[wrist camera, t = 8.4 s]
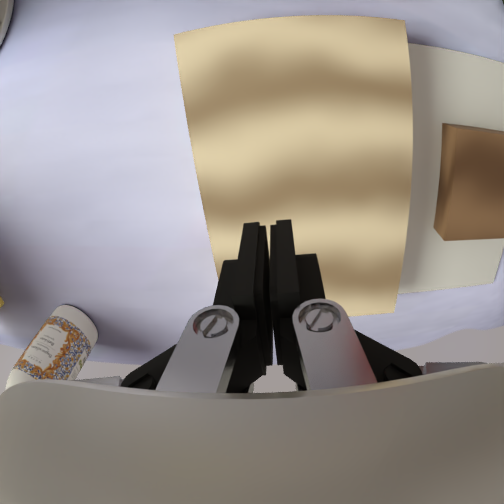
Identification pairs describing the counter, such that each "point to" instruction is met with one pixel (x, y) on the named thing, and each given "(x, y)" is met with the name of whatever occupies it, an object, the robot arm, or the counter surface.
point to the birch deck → (306, 142)
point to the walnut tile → (470, 184)
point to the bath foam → (57, 348)
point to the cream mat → (429, 158)
